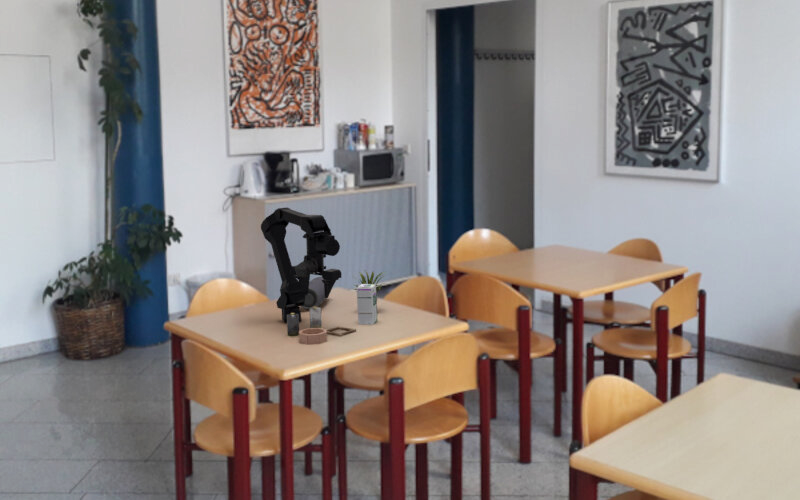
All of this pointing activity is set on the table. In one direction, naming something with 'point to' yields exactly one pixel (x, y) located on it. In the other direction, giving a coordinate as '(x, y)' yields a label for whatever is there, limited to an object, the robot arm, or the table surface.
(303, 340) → the pot
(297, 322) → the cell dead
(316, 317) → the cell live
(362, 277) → the house plant
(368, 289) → the syrup box
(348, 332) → the brown wooden tray
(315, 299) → the bluetooth speaker
